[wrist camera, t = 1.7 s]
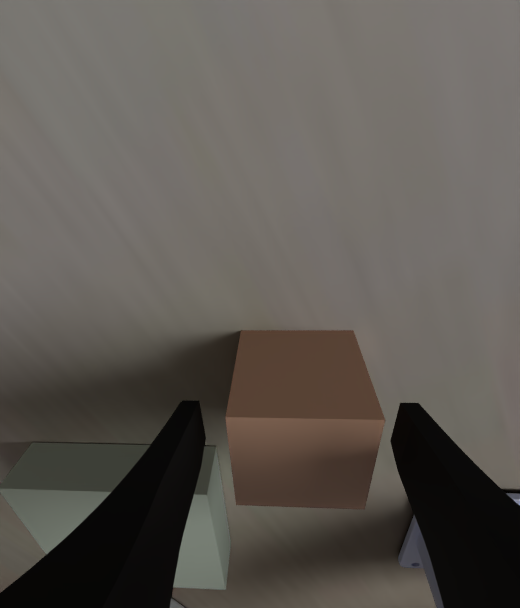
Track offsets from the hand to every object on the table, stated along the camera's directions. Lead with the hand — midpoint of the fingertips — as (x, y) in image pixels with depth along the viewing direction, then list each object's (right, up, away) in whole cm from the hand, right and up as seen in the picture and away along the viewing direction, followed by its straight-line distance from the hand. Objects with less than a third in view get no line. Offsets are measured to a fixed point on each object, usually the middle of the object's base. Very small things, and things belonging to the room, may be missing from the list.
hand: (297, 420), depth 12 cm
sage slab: (-8, -7, +8) cm, 14 cm away
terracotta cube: (0, +1, +2) cm, 3 cm away
